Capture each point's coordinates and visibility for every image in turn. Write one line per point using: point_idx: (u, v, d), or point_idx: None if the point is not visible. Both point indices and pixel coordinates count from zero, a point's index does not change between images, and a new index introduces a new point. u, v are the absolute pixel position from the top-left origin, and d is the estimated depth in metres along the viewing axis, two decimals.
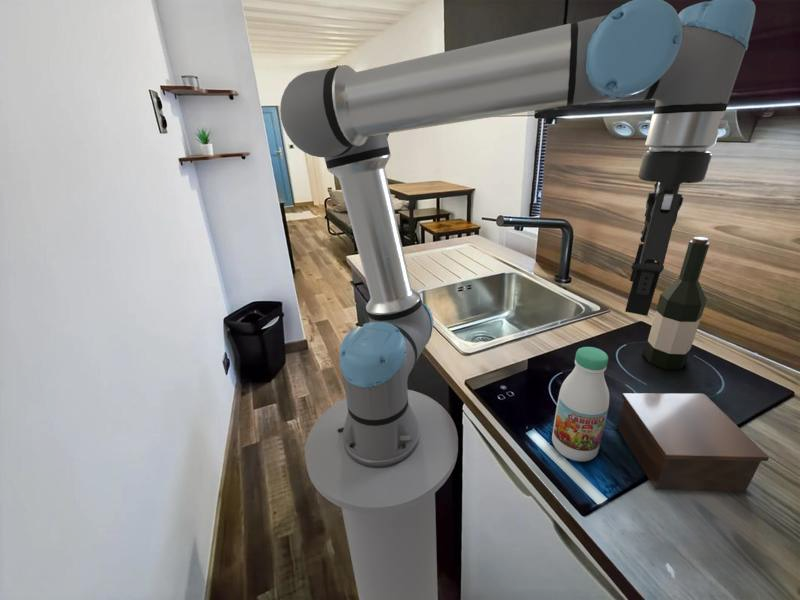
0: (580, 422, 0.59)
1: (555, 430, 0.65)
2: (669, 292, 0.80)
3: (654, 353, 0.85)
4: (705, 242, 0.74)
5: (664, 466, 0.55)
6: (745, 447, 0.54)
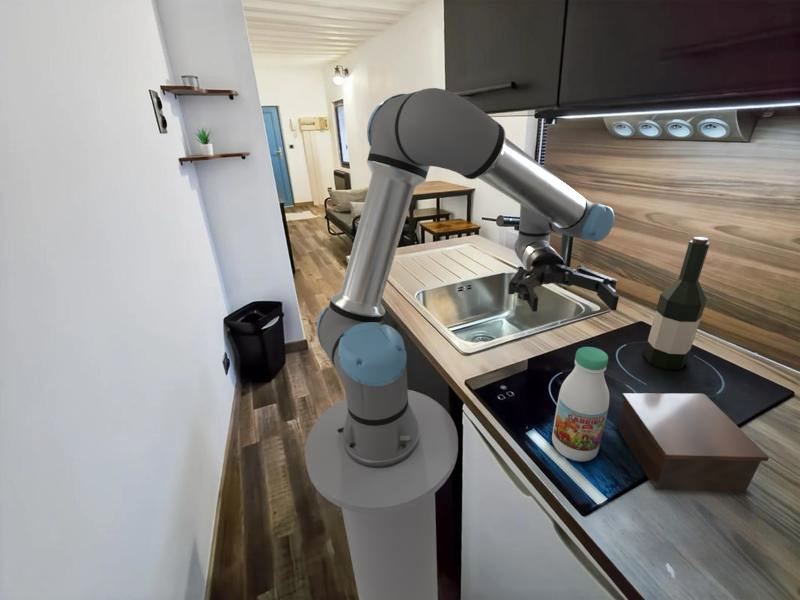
0: (580, 422, 0.59)
1: (555, 430, 0.65)
2: (669, 292, 0.80)
3: (654, 353, 0.85)
4: (705, 242, 0.74)
5: (664, 466, 0.55)
6: (745, 447, 0.54)
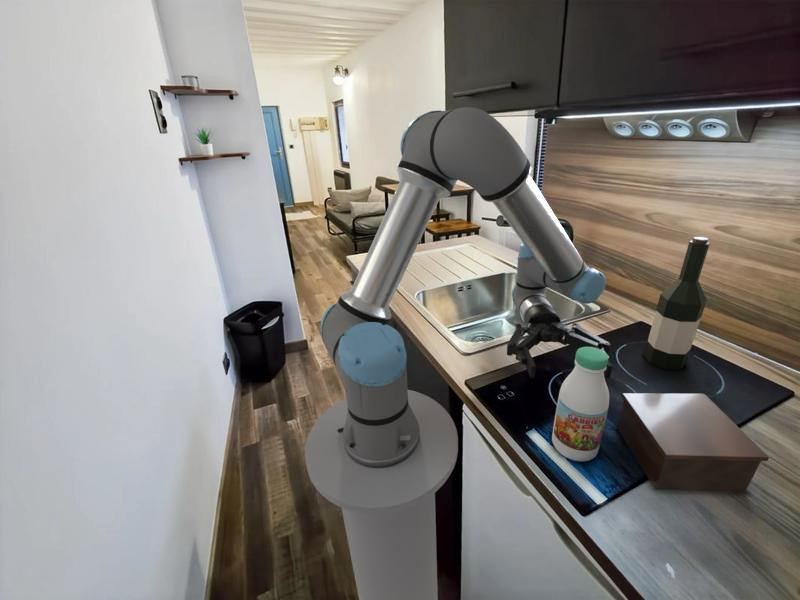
0: (580, 422, 0.59)
1: (555, 430, 0.65)
2: (669, 292, 0.80)
3: (654, 353, 0.85)
4: (705, 242, 0.74)
5: (664, 466, 0.55)
6: (745, 447, 0.54)
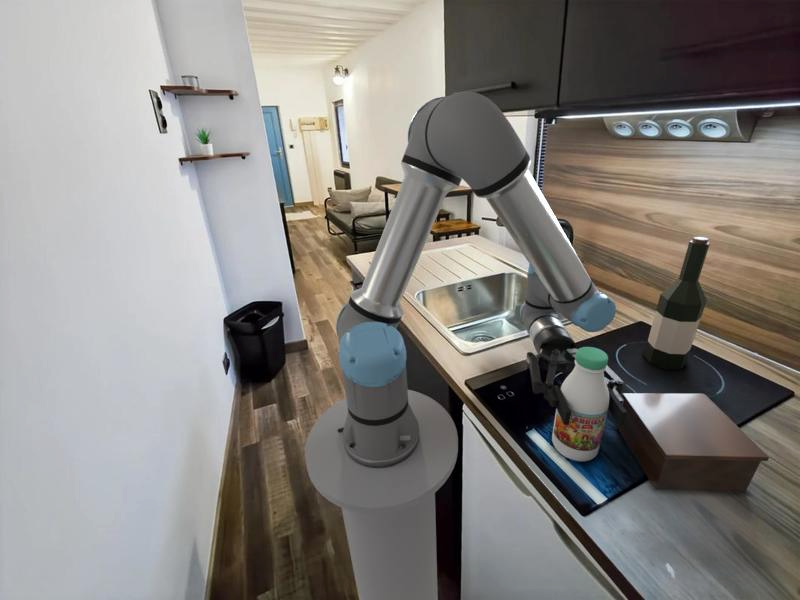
0: (580, 422, 0.59)
1: (555, 430, 0.65)
2: (669, 292, 0.80)
3: (654, 353, 0.85)
4: (705, 242, 0.74)
5: (664, 466, 0.55)
6: (745, 447, 0.54)
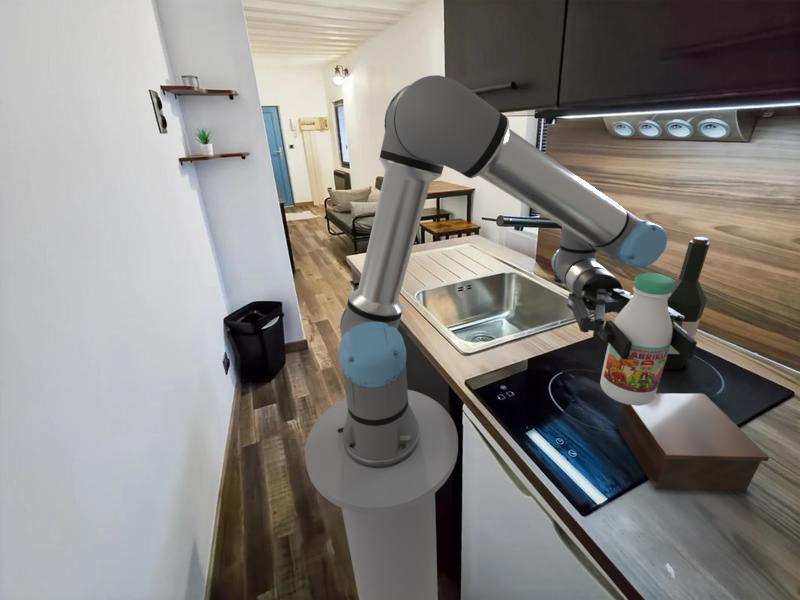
0: (639, 357, 0.53)
1: (606, 372, 0.58)
2: None
3: None
4: (705, 242, 0.74)
5: (664, 466, 0.55)
6: (745, 447, 0.54)
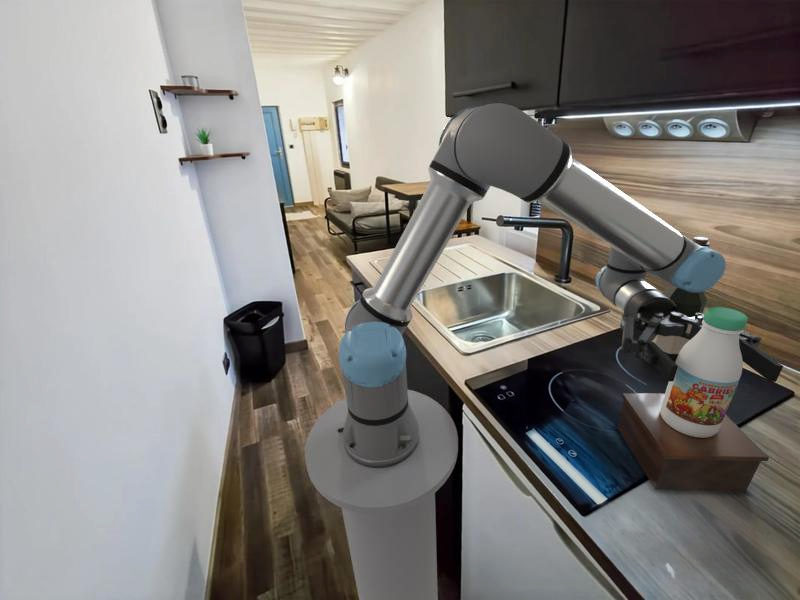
0: (709, 392, 0.53)
1: (669, 403, 0.58)
2: (669, 292, 0.80)
3: None
4: (705, 242, 0.74)
5: (664, 466, 0.55)
6: (745, 447, 0.54)
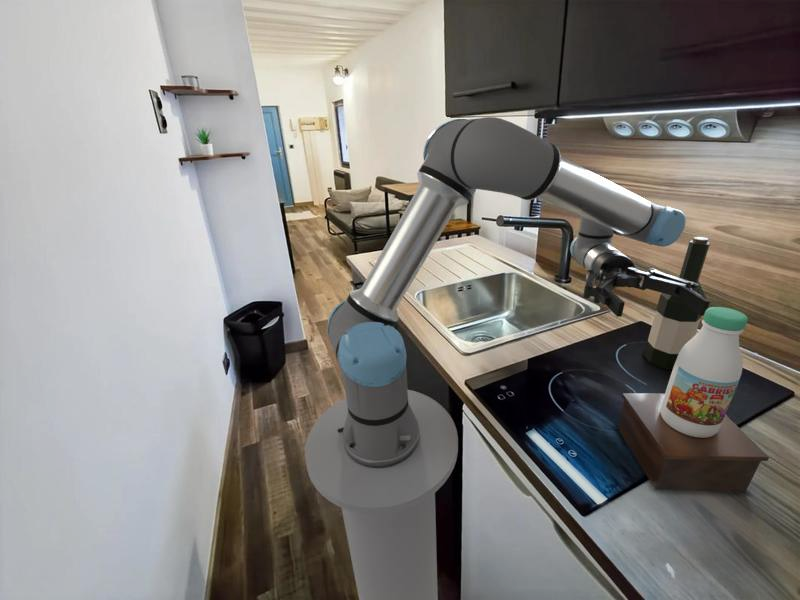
0: (709, 392, 0.53)
1: (669, 403, 0.58)
2: None
3: (654, 353, 0.85)
4: (705, 242, 0.74)
5: (664, 466, 0.55)
6: (745, 447, 0.54)
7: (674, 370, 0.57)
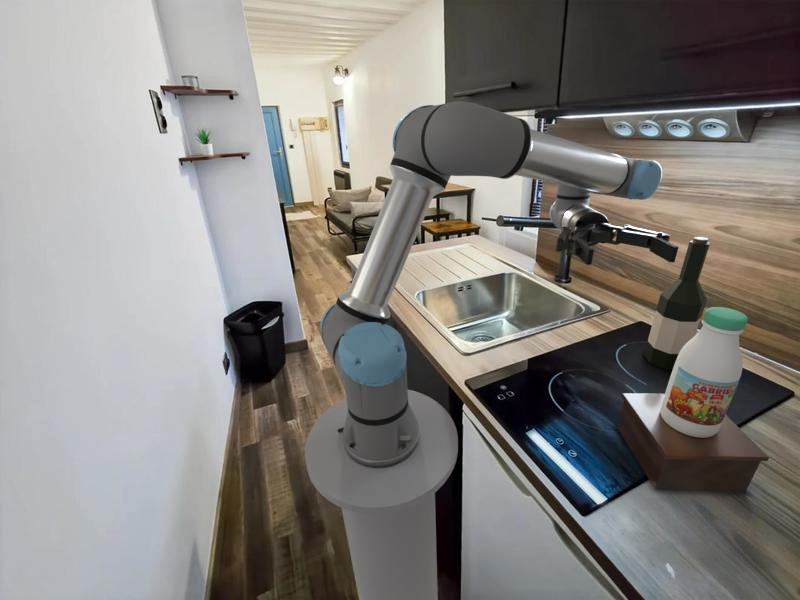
0: (709, 392, 0.53)
1: (669, 403, 0.58)
2: (669, 292, 0.80)
3: (654, 353, 0.85)
4: (705, 242, 0.74)
5: (664, 466, 0.55)
6: (745, 447, 0.54)
7: (674, 370, 0.57)
